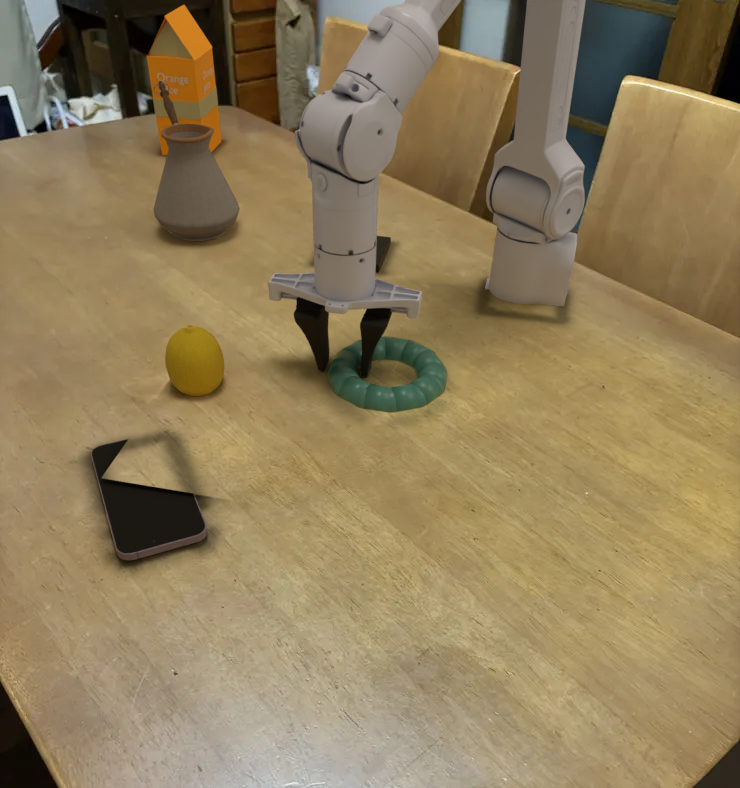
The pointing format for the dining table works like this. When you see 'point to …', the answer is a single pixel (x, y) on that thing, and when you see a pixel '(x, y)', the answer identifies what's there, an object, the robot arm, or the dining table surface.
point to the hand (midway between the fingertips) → (344, 368)
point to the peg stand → (381, 250)
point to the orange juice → (184, 75)
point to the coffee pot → (192, 182)
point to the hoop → (385, 397)
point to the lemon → (194, 361)
